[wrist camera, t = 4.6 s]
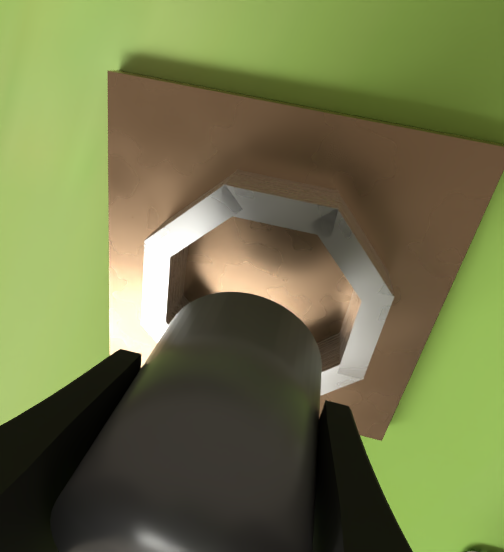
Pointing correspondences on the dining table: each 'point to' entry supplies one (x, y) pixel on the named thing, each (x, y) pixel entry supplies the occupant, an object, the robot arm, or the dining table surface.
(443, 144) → the octagonal socket plate
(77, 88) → the dining table surface
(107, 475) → the dark grey cylinder peg
